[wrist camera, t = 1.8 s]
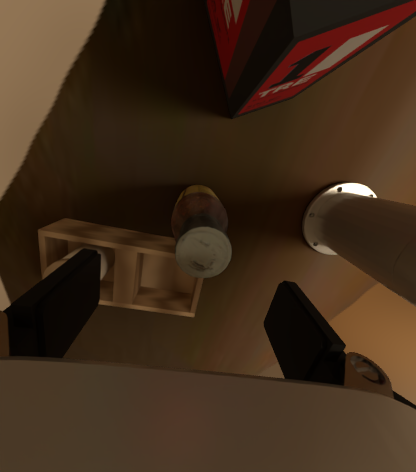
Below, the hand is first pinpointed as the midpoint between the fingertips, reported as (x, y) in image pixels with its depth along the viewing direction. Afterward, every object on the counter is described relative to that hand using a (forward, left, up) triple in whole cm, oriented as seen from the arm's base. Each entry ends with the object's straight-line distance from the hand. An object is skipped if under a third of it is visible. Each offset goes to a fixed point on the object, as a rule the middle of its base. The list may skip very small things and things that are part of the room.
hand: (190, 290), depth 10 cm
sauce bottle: (0, 0, -24) cm, 24 cm away
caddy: (+9, +12, -23) cm, 28 cm away
